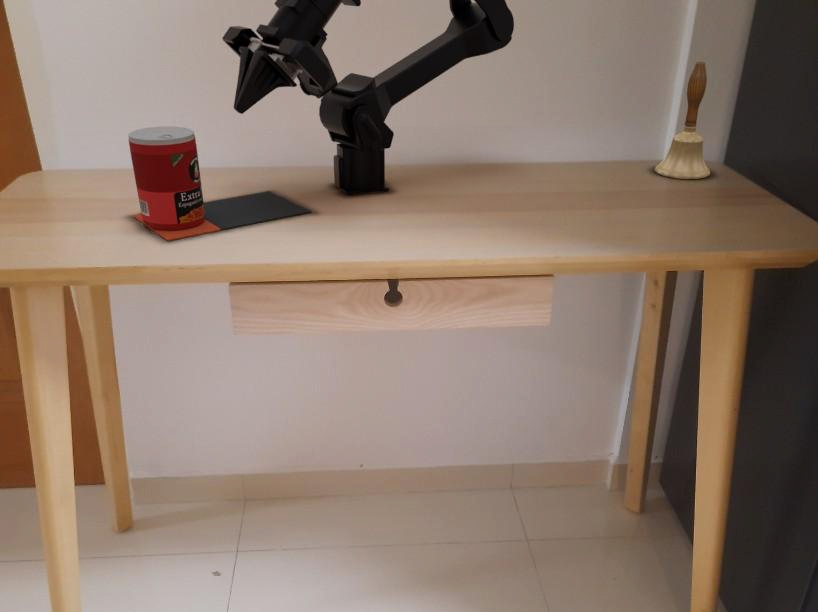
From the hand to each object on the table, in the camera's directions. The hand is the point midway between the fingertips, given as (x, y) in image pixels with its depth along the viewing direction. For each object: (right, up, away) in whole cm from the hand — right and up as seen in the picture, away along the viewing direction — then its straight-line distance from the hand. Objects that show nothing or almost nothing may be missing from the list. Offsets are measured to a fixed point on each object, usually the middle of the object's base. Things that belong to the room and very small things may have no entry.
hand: (237, 111), depth 98 cm
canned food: (-8, -14, +1) cm, 16 cm away
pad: (-8, -14, +1) cm, 16 cm away
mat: (0, -11, +6) cm, 13 cm away
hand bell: (+65, -1, +24) cm, 69 cm away
